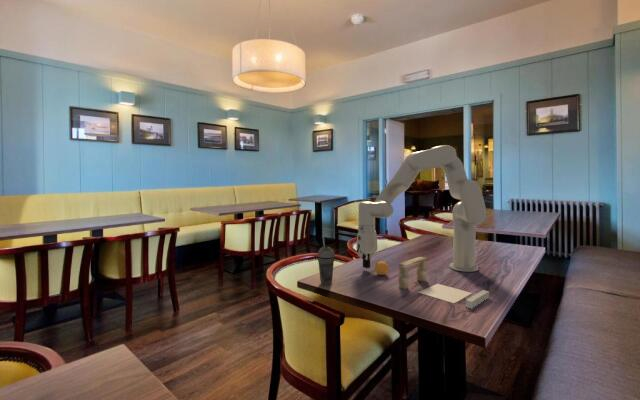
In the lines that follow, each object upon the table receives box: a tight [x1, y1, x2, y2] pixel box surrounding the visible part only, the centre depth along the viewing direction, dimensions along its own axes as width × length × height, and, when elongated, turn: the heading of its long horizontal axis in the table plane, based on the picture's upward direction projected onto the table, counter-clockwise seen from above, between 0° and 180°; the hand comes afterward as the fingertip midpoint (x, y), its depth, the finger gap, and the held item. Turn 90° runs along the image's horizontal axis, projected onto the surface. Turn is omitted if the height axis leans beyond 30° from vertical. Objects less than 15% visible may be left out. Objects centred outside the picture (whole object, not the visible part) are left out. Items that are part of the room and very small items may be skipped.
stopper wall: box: [465, 289, 490, 310], centre depth 114 cm, size 14×2×2 cm, turn 131°
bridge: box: [398, 256, 427, 290], centre depth 134 cm, size 3×15×10 cm, turn 131°
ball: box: [374, 260, 390, 276], centre depth 146 cm, size 6×6×6 cm
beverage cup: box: [317, 235, 336, 287], centre depth 134 cm, size 7×7×20 cm
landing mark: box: [418, 283, 473, 304], centre depth 124 cm, size 14×14×1 cm
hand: (366, 267), depth 153 cm, fingers closed
